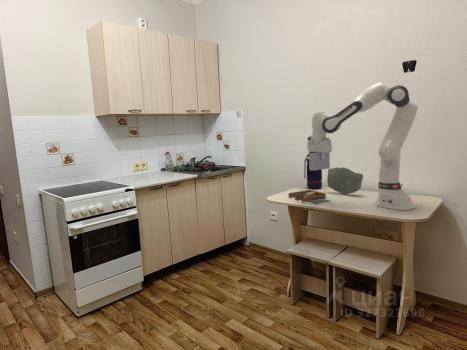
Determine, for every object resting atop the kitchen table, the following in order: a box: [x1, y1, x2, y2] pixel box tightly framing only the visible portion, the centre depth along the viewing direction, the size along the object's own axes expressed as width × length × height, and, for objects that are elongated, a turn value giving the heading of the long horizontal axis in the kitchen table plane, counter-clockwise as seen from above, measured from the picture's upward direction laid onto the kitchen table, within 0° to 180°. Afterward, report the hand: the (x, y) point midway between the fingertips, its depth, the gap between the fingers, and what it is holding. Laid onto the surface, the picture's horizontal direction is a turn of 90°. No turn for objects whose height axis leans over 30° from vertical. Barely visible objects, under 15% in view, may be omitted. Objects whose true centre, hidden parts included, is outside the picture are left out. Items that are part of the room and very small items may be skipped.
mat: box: [308, 198, 331, 205], centre depth 220 cm, size 7×13×1 cm, turn 115°
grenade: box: [303, 151, 323, 190], centre depth 264 cm, size 14×12×30 cm
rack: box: [288, 189, 327, 203], centre depth 232 cm, size 17×20×4 cm
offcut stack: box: [302, 192, 315, 198], centre depth 228 cm, size 4×10×4 cm, turn 115°
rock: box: [326, 166, 364, 195], centre depth 235 cm, size 27×6×20 cm, turn 45°
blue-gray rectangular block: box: [308, 152, 331, 170], centre depth 216 cm, size 4×14×11 cm, turn 115°
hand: (319, 158), depth 216 cm, fingers closed on blue-gray rectangular block, 3 cm apart
